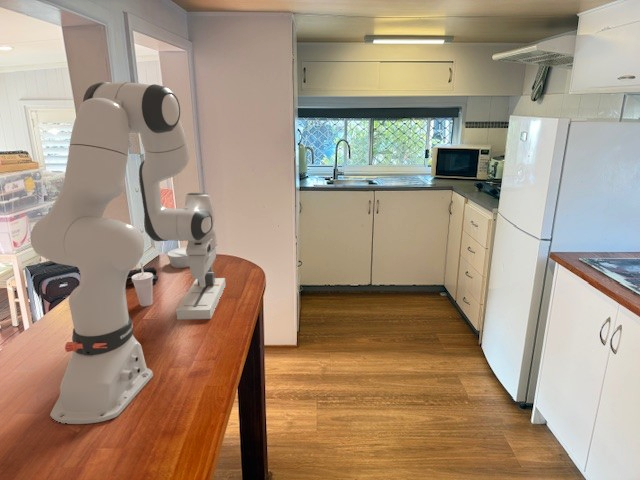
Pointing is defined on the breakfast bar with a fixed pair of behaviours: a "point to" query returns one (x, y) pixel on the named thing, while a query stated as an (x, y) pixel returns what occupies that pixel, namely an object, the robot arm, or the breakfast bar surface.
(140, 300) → the smoothie
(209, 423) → the breakfast bar surface
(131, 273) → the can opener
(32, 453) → the breakfast bar surface
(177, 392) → the breakfast bar surface
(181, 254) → the ramekin
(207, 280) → the fader knob
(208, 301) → the fader console
